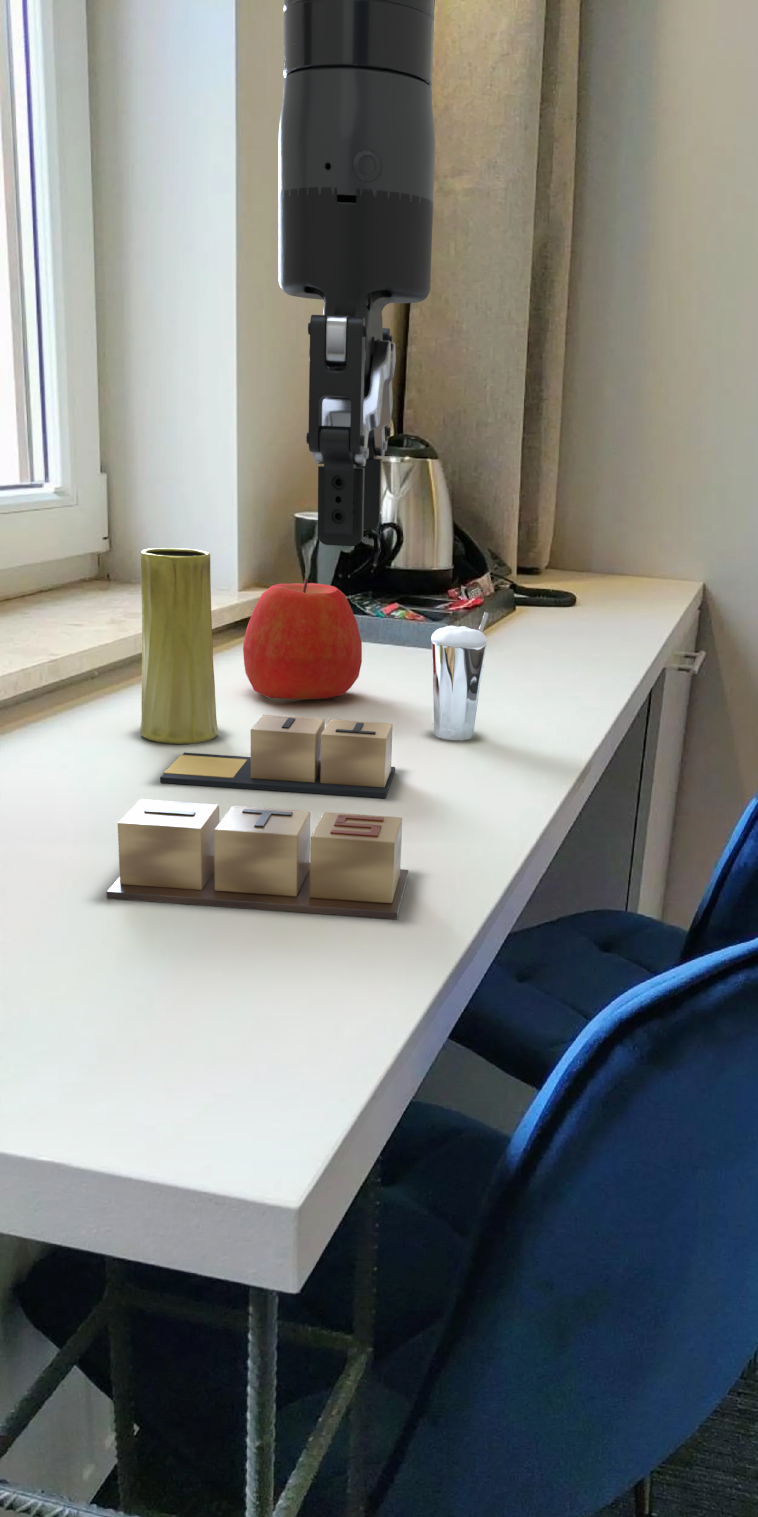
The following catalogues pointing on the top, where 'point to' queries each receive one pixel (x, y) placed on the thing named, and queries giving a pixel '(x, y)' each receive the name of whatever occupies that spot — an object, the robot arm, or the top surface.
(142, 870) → the near word
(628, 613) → the top surface
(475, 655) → the milkshake
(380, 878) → the tile
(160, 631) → the vase
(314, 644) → the apple
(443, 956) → the top surface
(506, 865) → the top surface
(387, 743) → the far word
